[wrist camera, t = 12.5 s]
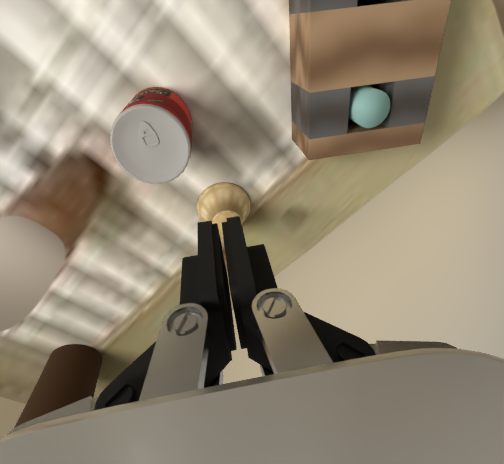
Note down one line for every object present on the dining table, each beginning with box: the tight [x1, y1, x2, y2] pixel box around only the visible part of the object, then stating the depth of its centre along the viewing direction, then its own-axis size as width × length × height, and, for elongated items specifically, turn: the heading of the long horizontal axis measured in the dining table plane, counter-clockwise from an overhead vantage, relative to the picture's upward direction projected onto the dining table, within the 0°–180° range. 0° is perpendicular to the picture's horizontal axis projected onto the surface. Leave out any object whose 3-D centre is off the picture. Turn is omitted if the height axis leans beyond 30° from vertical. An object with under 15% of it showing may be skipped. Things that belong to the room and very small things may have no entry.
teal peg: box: [348, 85, 390, 128], centre depth 37 cm, size 4×4×7 cm
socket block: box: [289, 0, 451, 160], centre depth 35 cm, size 22×14×8 cm, turn 5°
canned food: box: [110, 87, 192, 184], centre depth 35 cm, size 8×8×11 cm
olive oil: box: [14, 345, 102, 428], centre depth 52 cm, size 11×11×25 cm
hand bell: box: [197, 183, 251, 271], centre depth 42 cm, size 8×8×16 cm
